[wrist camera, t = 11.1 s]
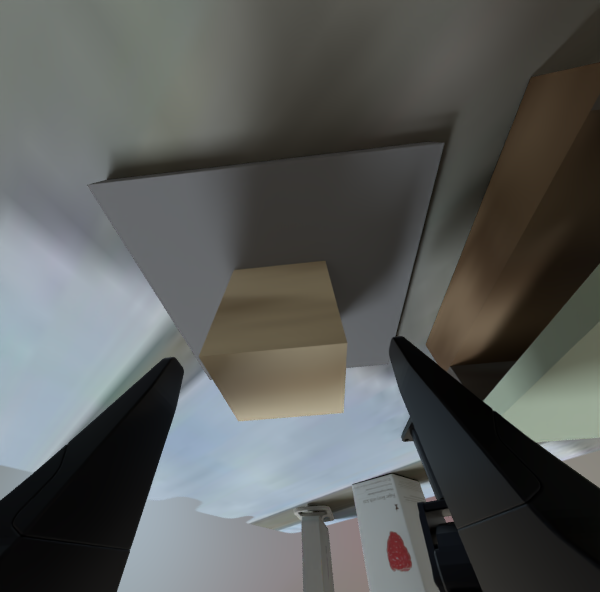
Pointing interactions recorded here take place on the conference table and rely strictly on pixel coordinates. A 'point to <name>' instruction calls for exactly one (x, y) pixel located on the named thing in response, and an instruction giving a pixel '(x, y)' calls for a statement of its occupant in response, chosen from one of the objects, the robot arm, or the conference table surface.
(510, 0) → the conference table surface
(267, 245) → the charcoal mat
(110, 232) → the conference table surface
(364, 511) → the supplement box
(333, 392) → the beech block
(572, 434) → the sliding cover
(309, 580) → the network device
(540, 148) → the wooden box
